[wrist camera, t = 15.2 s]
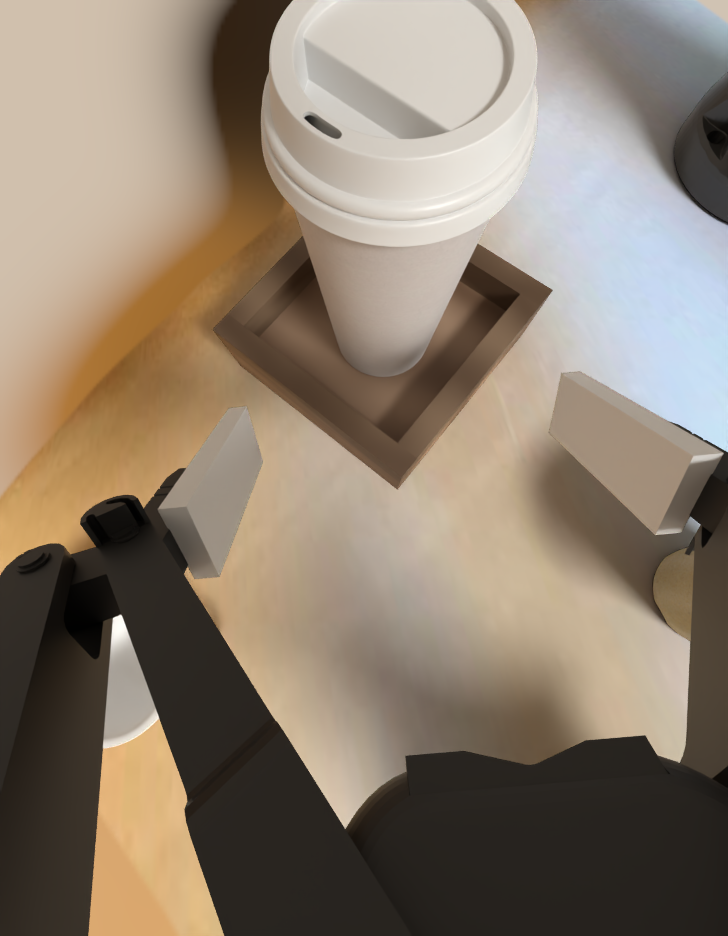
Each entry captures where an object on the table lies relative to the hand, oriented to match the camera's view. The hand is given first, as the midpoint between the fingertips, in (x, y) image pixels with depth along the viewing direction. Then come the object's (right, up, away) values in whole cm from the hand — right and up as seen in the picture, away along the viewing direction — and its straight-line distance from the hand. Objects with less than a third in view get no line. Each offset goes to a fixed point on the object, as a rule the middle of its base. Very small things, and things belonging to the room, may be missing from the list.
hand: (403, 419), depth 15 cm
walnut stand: (0, +7, +13) cm, 15 cm away
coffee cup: (0, +7, +10) cm, 13 cm away
